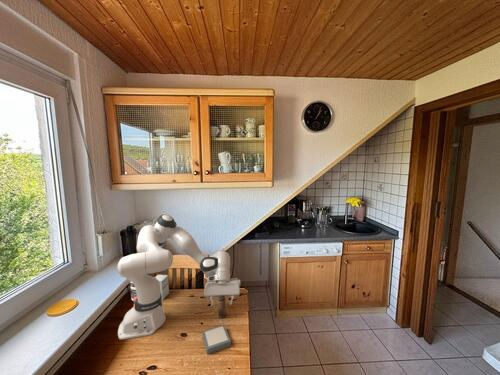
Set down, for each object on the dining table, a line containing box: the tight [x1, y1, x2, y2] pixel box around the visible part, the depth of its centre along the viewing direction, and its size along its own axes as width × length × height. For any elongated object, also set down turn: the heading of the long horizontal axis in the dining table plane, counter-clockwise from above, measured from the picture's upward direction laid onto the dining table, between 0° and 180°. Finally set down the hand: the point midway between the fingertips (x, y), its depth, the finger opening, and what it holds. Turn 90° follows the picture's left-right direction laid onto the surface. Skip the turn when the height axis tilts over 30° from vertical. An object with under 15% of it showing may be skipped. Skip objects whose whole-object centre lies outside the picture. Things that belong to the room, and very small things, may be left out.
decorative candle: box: [129, 280, 137, 301], centre depth 137 cm, size 9×9×25 cm
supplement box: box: [154, 274, 170, 301], centre depth 138 cm, size 7×7×13 cm
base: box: [201, 324, 232, 355], centre depth 104 cm, size 11×11×3 cm
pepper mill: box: [217, 296, 227, 319], centre depth 120 cm, size 4×4×11 cm
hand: (221, 305), depth 119 cm, fingers open, 8 cm apart
